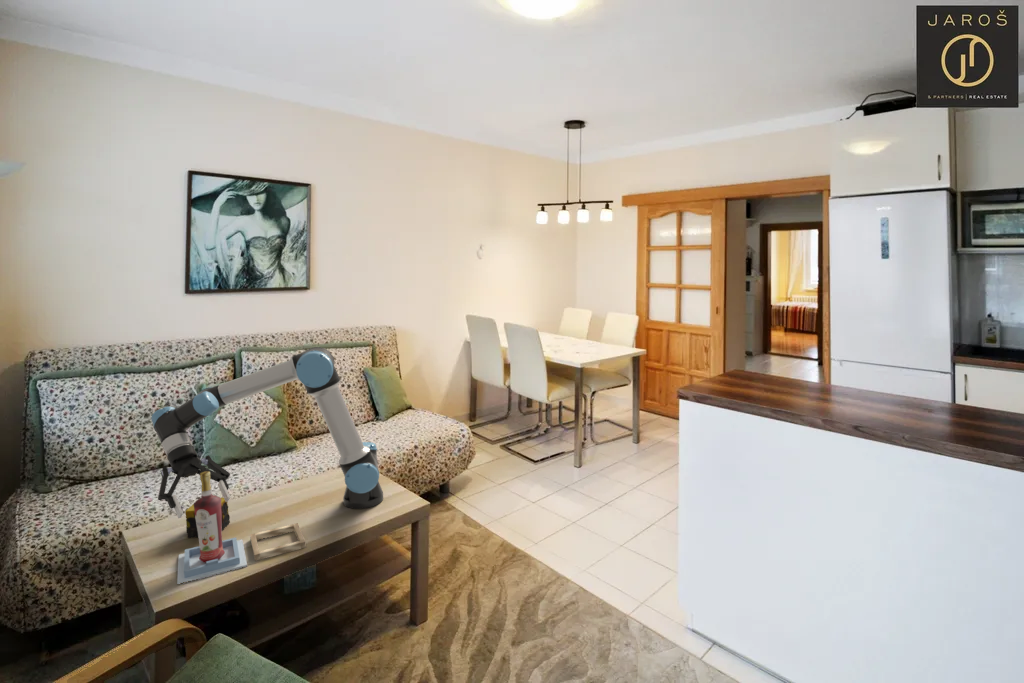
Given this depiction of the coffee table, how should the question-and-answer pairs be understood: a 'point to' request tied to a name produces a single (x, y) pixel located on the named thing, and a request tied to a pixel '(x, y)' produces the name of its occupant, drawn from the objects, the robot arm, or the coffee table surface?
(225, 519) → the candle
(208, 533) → the liquor
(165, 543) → the coffee table surface
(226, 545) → the tray
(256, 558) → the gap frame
